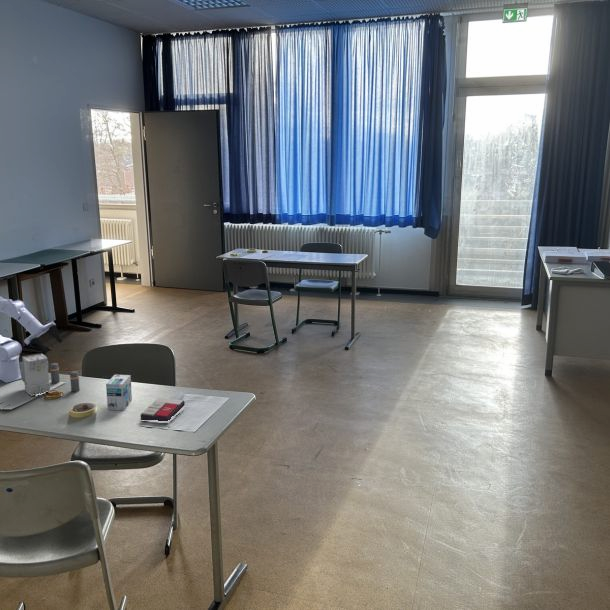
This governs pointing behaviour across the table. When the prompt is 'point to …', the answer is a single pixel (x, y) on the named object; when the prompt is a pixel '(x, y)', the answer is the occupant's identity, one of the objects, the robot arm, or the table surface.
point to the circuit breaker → (35, 373)
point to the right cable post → (74, 381)
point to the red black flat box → (162, 409)
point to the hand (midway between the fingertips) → (54, 346)
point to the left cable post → (54, 373)
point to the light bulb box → (119, 392)
